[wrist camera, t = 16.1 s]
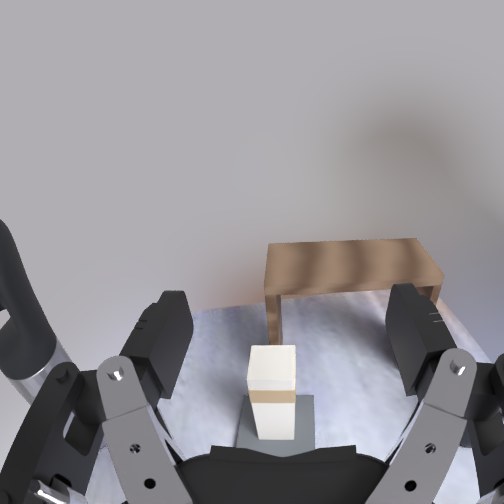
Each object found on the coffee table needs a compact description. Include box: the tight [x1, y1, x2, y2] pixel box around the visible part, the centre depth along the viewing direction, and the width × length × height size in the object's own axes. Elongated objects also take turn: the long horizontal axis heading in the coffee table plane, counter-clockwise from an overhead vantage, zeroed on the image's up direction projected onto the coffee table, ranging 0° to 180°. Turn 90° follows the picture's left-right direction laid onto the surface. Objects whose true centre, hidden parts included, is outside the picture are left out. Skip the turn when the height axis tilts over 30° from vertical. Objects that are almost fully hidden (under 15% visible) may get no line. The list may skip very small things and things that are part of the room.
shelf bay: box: [264, 238, 444, 345], centre depth 40 cm, size 22×10×18 cm, turn 84°
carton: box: [247, 345, 296, 440], centre depth 30 cm, size 5×5×14 cm
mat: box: [236, 395, 315, 457], centre depth 34 cm, size 10×10×1 cm
